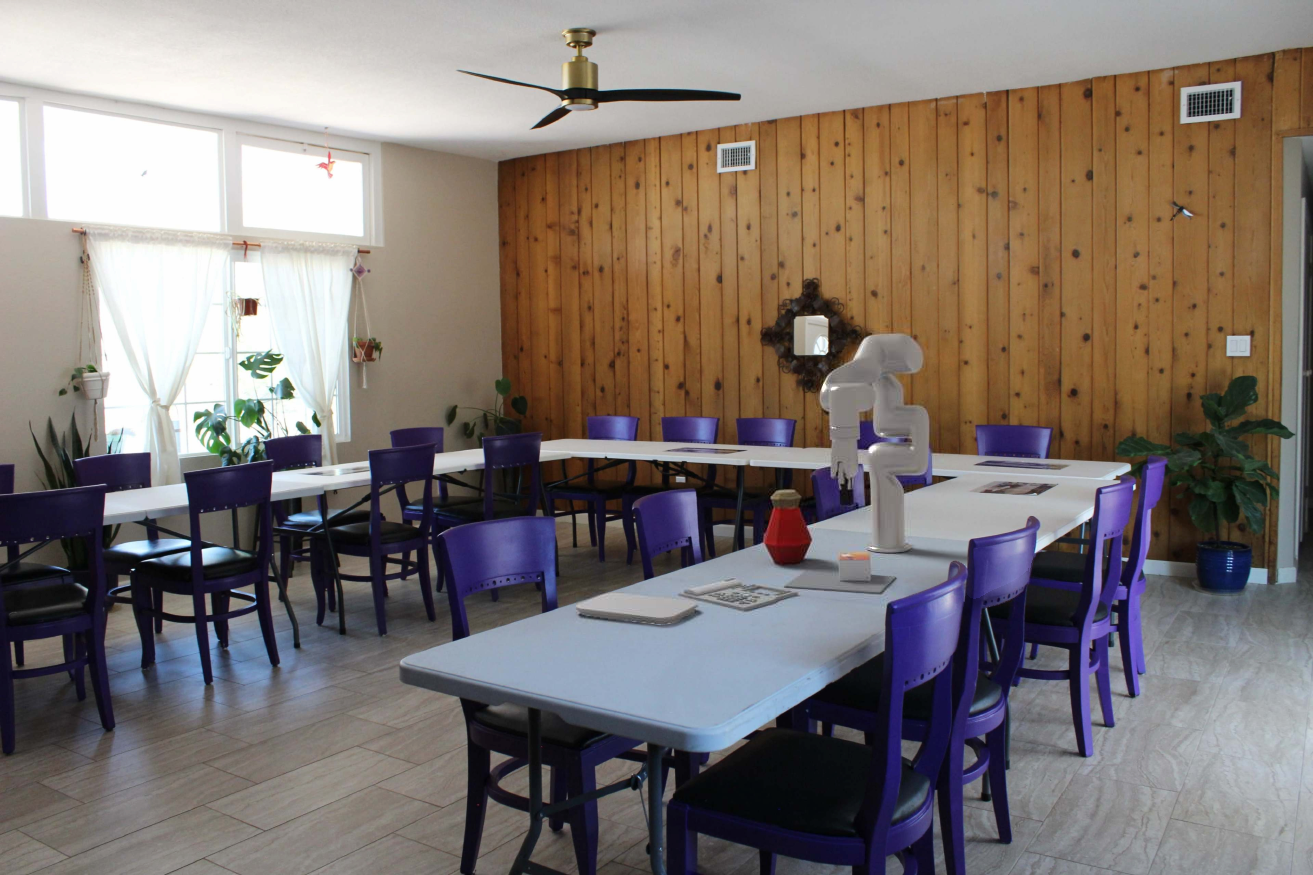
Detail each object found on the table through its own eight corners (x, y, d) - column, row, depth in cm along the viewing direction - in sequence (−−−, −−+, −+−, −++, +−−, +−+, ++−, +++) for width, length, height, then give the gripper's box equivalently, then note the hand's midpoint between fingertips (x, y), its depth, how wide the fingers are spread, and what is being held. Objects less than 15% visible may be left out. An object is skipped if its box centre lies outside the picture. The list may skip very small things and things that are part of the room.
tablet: (668, 629, 213) (667, 618, 213) (570, 617, 226) (570, 607, 226) (703, 611, 227) (702, 601, 227) (609, 601, 240) (609, 591, 240)
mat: (805, 572, 262) (805, 571, 262) (895, 577, 252) (895, 576, 252) (784, 587, 246) (784, 585, 246) (879, 593, 235) (879, 592, 235)
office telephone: (676, 587, 242) (733, 574, 255) (677, 598, 242) (734, 584, 255) (743, 601, 224) (801, 586, 237) (744, 613, 224) (802, 597, 237)
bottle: (799, 568, 267) (797, 495, 266) (754, 564, 274) (752, 494, 273) (821, 557, 281) (819, 488, 279) (778, 554, 288) (776, 486, 286)
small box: (869, 551, 257) (871, 559, 247) (870, 572, 257) (871, 581, 247) (838, 551, 258) (838, 559, 248) (839, 572, 259) (839, 581, 248)
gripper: (838, 430, 259) (840, 499, 260) (822, 436, 245) (824, 508, 247) (866, 430, 255) (868, 500, 257) (851, 436, 242) (853, 509, 244)
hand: (846, 504), depth 252 cm, fingers closed
